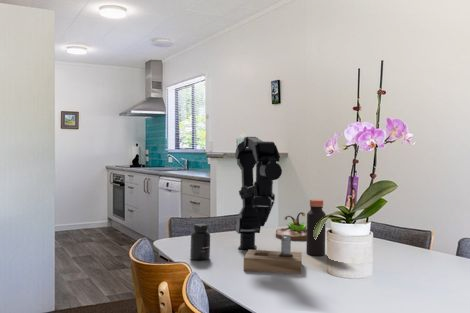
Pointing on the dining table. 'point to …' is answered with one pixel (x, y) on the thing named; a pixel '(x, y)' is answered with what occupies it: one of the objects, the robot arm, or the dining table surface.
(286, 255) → the peg
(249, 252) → the peg board
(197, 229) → the supplement bottle
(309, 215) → the vinegar
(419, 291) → the dining table surface
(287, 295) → the dining table surface
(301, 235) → the plant
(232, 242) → the dining table surface
